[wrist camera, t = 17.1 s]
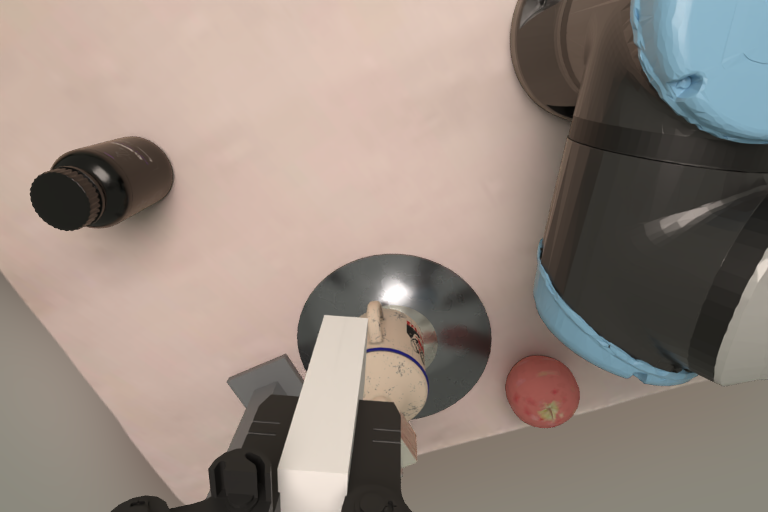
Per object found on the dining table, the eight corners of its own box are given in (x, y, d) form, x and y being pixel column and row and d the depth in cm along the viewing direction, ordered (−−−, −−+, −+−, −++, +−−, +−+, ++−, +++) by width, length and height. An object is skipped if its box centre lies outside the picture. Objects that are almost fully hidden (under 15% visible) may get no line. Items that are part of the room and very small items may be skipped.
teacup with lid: (429, 369, 55) (435, 445, 44) (351, 376, 56) (340, 452, 45) (417, 276, 51) (421, 335, 40) (334, 285, 51) (315, 345, 41)
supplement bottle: (164, 131, 46) (89, 154, 35) (182, 199, 49) (117, 241, 38) (97, 137, 46) (1, 162, 35) (118, 205, 49) (35, 247, 38)
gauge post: (285, 353, 55) (241, 466, 40) (319, 404, 58) (289, 528, 43) (228, 377, 57) (165, 495, 42) (264, 425, 60) (216, 552, 44)
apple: (574, 380, 55) (600, 430, 48) (514, 403, 57) (531, 454, 50) (551, 331, 53) (576, 376, 46) (490, 356, 54) (504, 403, 47)
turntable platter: (443, 220, 48) (443, 221, 48) (519, 381, 56) (519, 382, 55) (261, 302, 53) (260, 303, 53) (353, 441, 60) (353, 443, 60)
